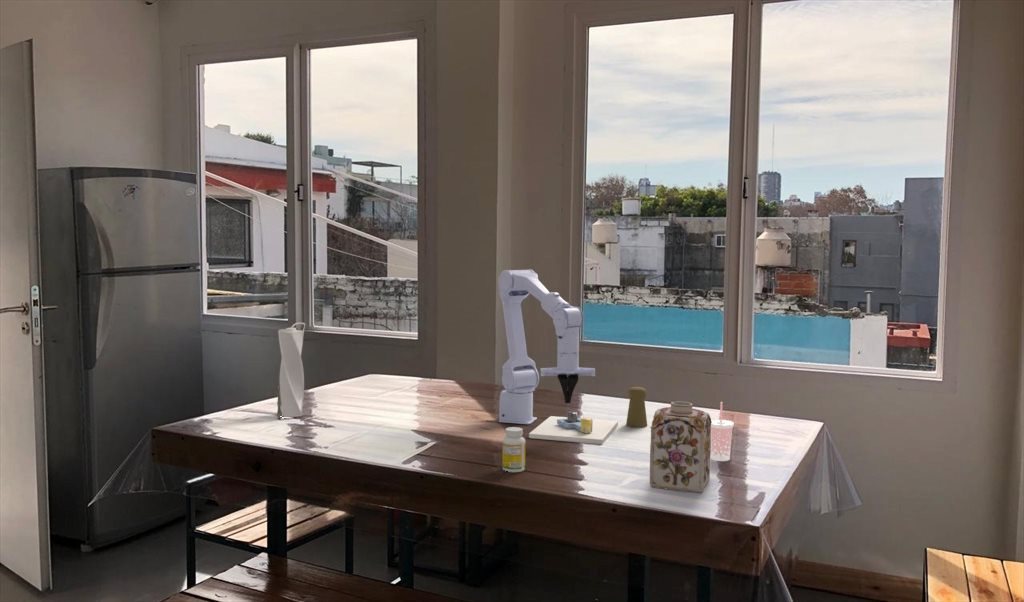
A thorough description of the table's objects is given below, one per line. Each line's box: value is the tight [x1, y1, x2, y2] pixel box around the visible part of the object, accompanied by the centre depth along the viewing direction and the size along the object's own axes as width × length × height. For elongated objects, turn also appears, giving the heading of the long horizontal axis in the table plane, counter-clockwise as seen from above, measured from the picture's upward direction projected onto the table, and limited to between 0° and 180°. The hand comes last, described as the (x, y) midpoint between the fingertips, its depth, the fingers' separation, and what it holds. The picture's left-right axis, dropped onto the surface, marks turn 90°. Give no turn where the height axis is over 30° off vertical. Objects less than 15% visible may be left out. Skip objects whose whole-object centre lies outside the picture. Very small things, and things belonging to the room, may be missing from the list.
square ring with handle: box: [557, 417, 592, 433], centre depth 227 cm, size 13×6×3 cm, turn 23°
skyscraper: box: [276, 321, 306, 419], centre depth 244 cm, size 8×8×28 cm
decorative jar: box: [649, 400, 712, 494], centre depth 182 cm, size 12×12×18 cm
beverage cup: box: [710, 401, 735, 462], centre depth 201 cm, size 6×6×14 cm
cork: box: [625, 386, 648, 429], centre depth 236 cm, size 6×6×11 cm
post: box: [566, 411, 579, 423], centre depth 229 cm, size 3×3×5 cm
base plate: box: [528, 415, 619, 445], centre depth 228 cm, size 20×22×1 cm
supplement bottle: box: [501, 426, 526, 473], centre depth 192 cm, size 5×5×10 cm
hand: (567, 402), depth 222 cm, fingers closed
